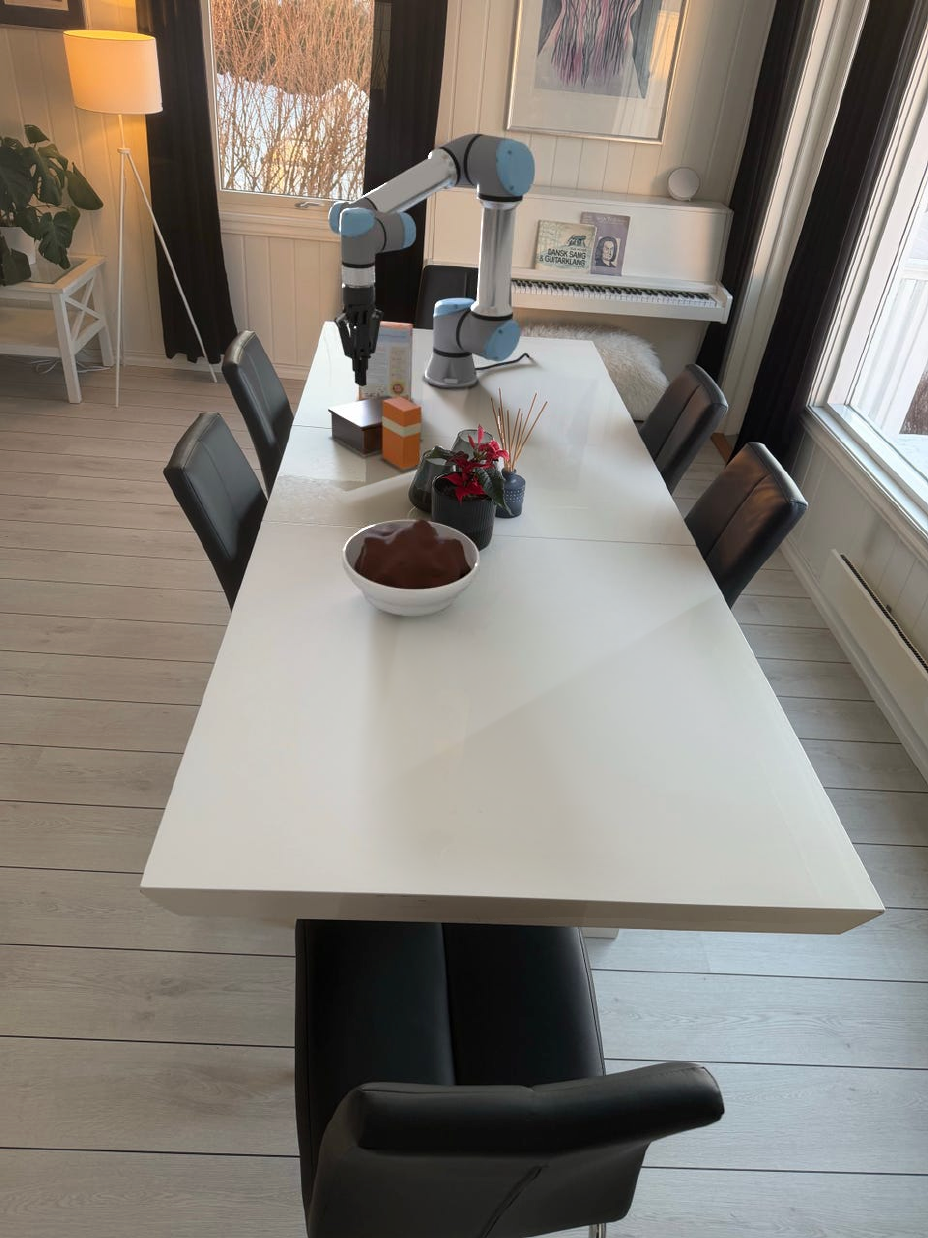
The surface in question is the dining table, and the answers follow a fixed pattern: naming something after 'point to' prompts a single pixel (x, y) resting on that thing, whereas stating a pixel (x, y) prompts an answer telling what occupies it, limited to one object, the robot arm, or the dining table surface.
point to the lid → (362, 412)
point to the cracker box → (390, 363)
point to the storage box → (358, 436)
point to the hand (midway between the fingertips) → (360, 383)
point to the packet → (401, 432)
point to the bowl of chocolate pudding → (410, 565)
